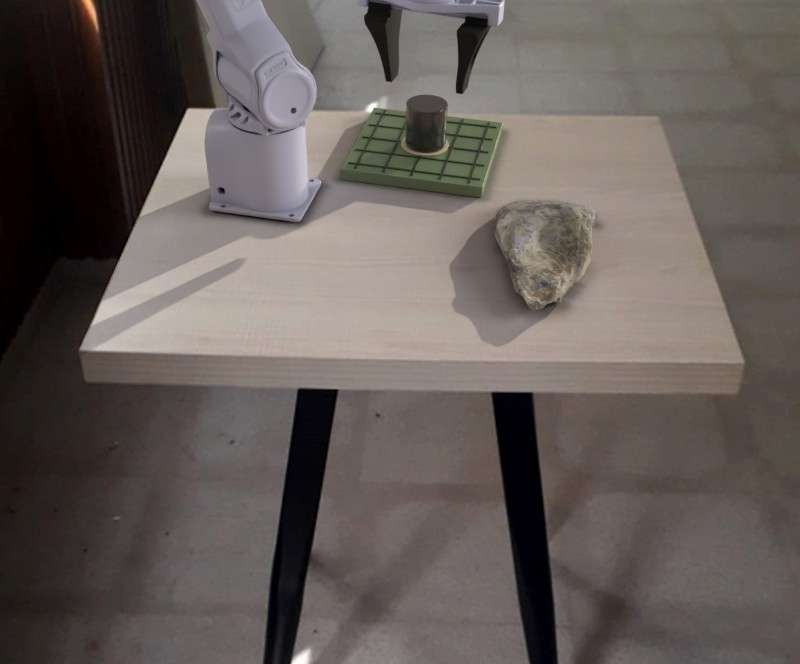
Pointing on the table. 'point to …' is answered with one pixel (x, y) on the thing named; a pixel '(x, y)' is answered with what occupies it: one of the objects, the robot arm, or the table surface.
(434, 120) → the dark grey cylinder
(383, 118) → the board
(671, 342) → the table surface
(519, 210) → the stone
